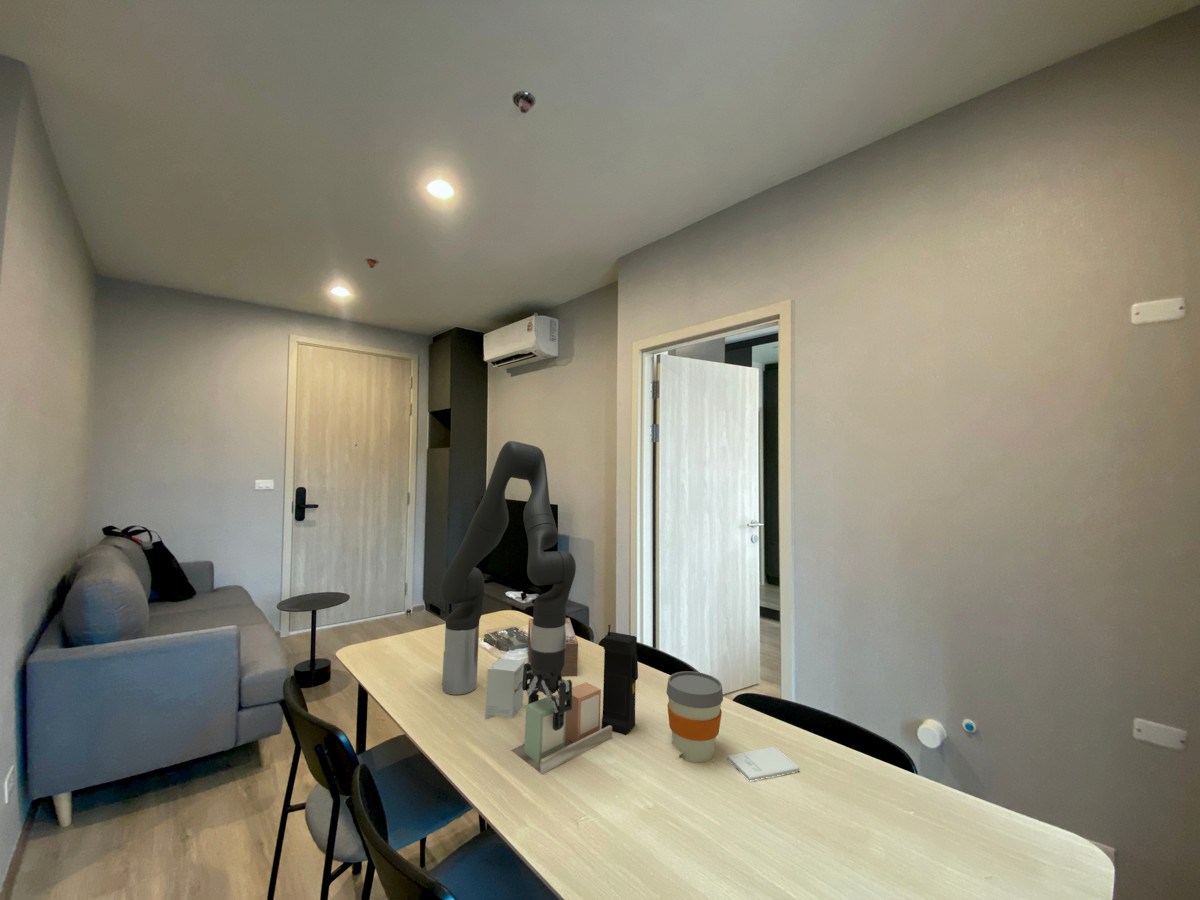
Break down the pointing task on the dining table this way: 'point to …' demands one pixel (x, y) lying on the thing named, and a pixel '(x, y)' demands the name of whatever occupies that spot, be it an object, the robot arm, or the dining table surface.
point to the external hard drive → (762, 763)
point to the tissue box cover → (570, 649)
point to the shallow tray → (566, 750)
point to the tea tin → (542, 730)
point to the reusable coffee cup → (694, 713)
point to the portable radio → (619, 682)
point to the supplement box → (504, 688)
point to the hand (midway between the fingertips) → (544, 720)
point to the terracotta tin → (583, 712)
